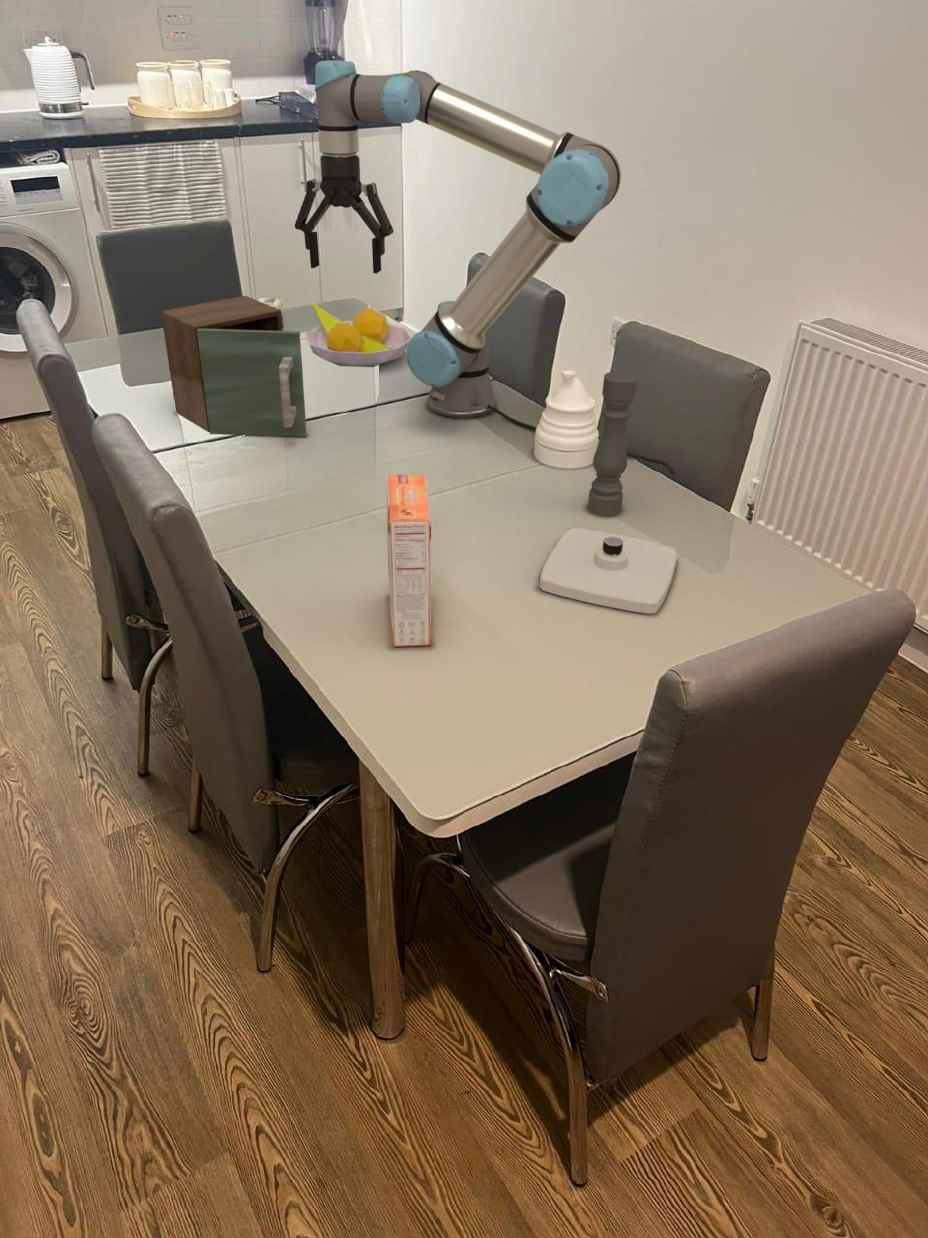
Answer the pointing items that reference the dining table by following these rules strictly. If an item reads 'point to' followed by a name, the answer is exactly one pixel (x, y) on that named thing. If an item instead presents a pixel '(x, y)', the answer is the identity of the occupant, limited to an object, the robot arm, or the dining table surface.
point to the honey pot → (567, 426)
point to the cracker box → (409, 559)
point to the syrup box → (274, 305)
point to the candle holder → (612, 445)
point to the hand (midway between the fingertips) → (346, 269)
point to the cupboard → (186, 348)
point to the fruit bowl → (357, 339)
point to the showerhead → (609, 570)
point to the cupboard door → (253, 382)
